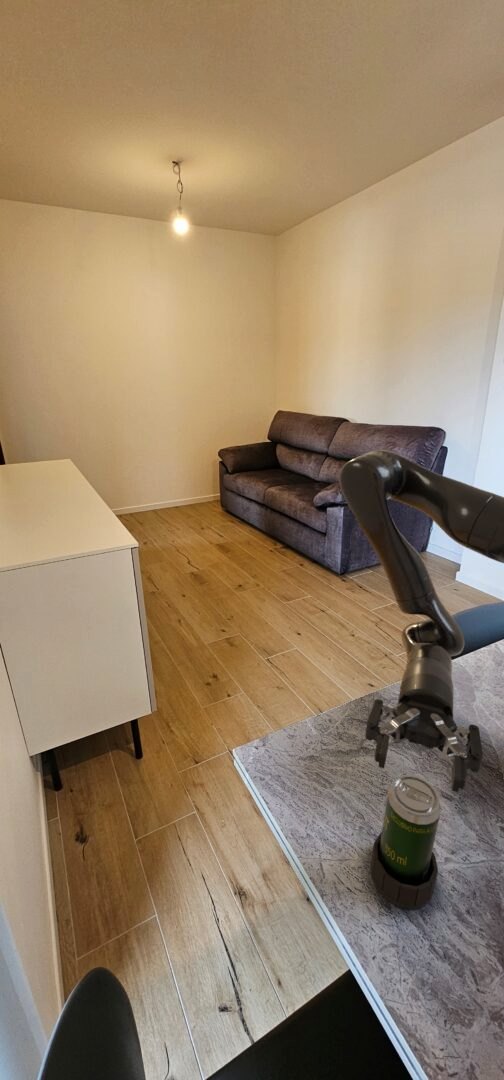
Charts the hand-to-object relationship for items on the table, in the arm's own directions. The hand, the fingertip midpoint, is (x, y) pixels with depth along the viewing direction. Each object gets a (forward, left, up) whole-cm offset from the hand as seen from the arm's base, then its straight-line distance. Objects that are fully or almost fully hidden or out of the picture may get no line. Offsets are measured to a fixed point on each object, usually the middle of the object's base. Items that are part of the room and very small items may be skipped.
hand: (418, 774), depth 55 cm
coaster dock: (+2, +6, -9) cm, 11 cm away
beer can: (+2, +6, -9) cm, 11 cm away
